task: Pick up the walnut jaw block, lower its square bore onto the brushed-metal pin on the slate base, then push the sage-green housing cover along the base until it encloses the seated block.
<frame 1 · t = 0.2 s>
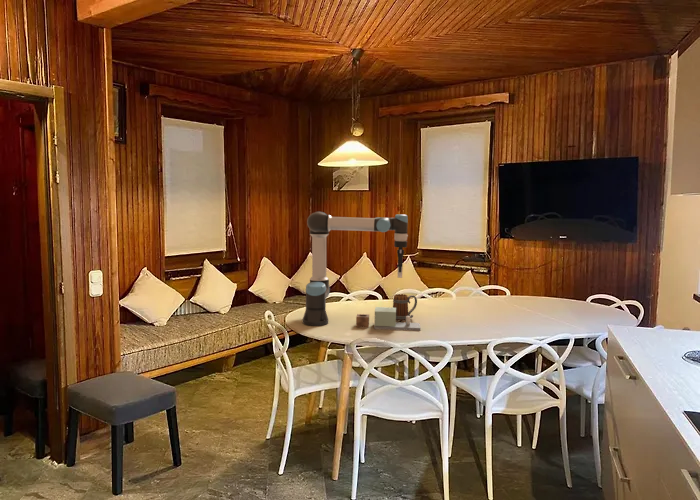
hand: (399, 275, 329), 28 cm above the table, fingers open, 13 cm apart
housing cover: (385, 316, 317), point 6 cm above the table, slide at 0.0 cm
housing base: (397, 327, 317), on the table
mug: (404, 319, 337), on the table
jaw block: (362, 325, 318), on the table
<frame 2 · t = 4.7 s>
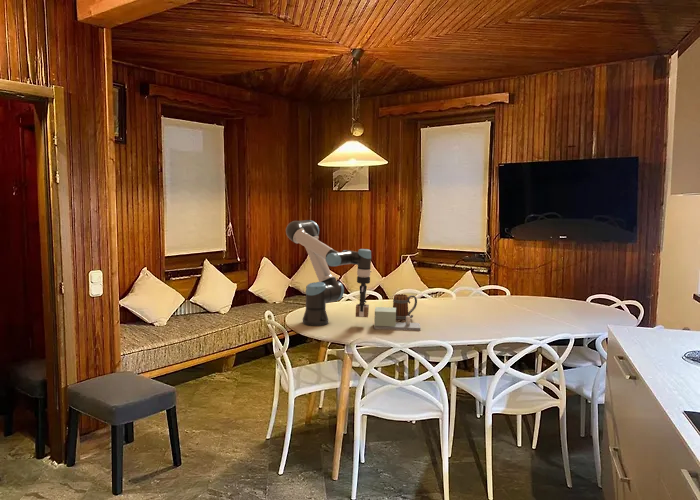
hand: (361, 315, 318), 6 cm above the table, fingers closed on jaw block, 7 cm apart
jaw block: (362, 315, 318), point 6 cm above the table, touching gripper
everything else where it was.
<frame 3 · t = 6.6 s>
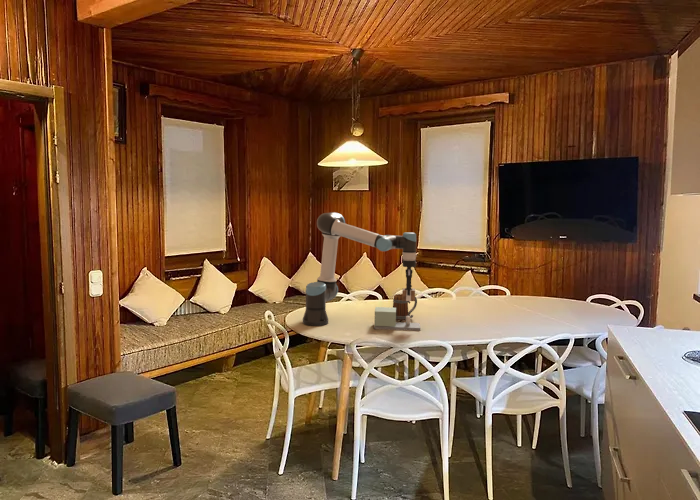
hand: (408, 299, 314), 16 cm above the table, fingers closed on jaw block, 7 cm apart
jaw block: (408, 299, 314), point 16 cm above the table, touching gripper
everything else where it was.
when the fingers open (2 cm above the table, at t = 8.9 s): jaw block stays where it is, resting on housing base.
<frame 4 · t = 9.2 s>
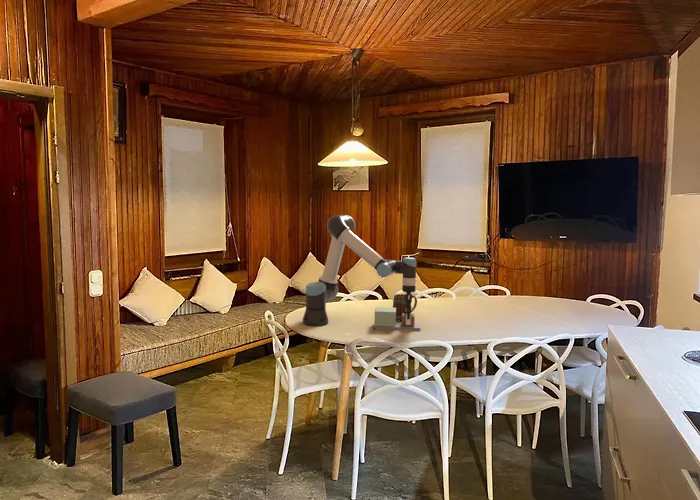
hand: (407, 322, 316), 3 cm above the table, fingers open, 11 cm apart
jaw block: (407, 325, 316), point 1 cm above the table, touching housing base
everything else where it was.
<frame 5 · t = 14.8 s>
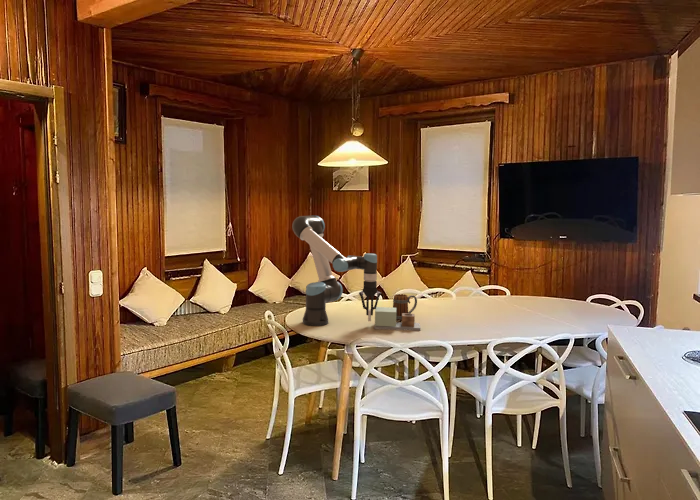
hand: (369, 320, 318), 3 cm above the table, fingers closed
housing cover: (385, 316, 317), point 6 cm above the table, slide at 0.2 cm, touching gripper
everything else where it was.
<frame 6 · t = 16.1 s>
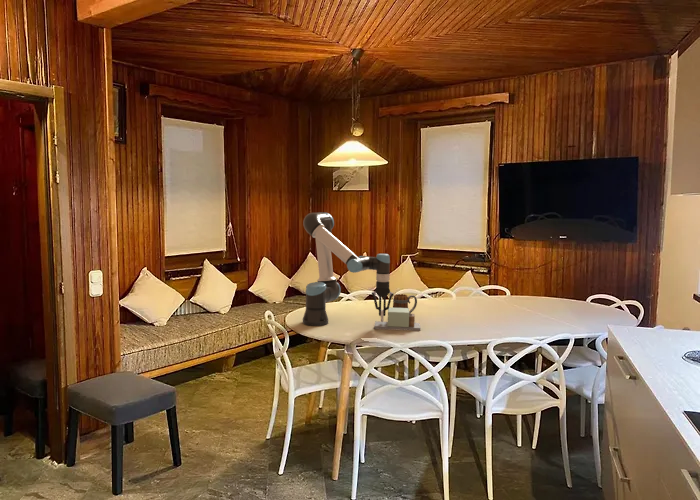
hand: (382, 321, 317), 3 cm above the table, fingers closed
housing cover: (398, 317, 316), point 6 cm above the table, slide at 7.4 cm, touching gripper
everything else where it was.
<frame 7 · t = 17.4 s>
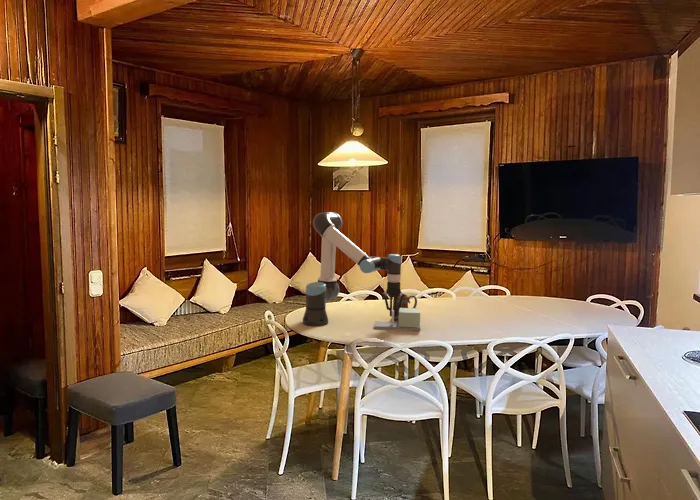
hand: (392, 321, 316), 3 cm above the table, fingers closed
housing cover: (409, 317, 315), point 6 cm above the table, slide at 13.6 cm, touching gripper
everything else where it was.
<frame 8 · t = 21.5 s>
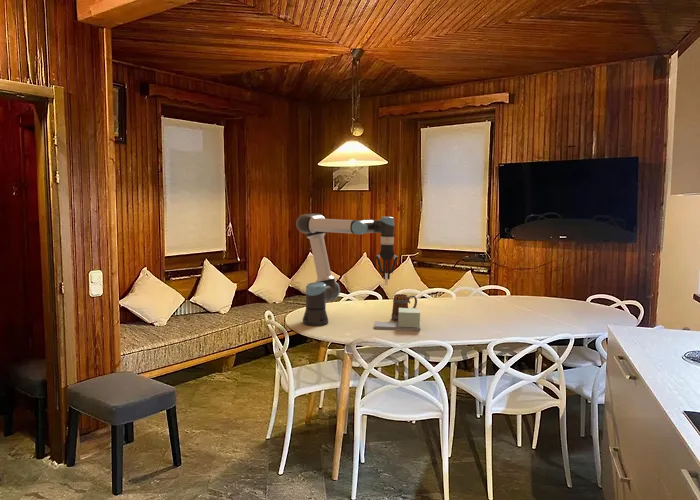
hand: (386, 284, 315), 24 cm above the table, fingers closed
housing cover: (409, 317, 315), point 6 cm above the table, slide at 13.5 cm
everything else where it was.
at the end: jaw block 0.1 cm from the target spot on the housing base, point 1.5 cm above the housing base's base; housing cover slide at 13.5 cm; the gripper is holding nothing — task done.
